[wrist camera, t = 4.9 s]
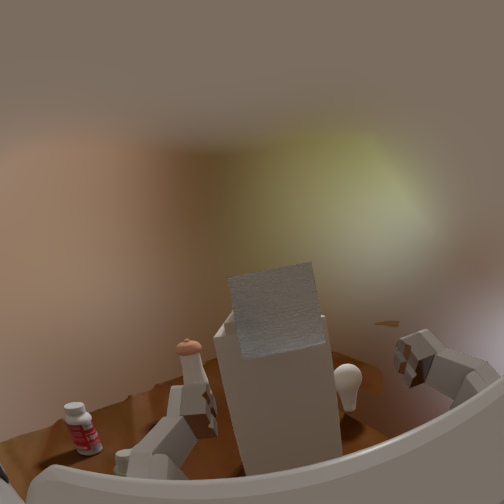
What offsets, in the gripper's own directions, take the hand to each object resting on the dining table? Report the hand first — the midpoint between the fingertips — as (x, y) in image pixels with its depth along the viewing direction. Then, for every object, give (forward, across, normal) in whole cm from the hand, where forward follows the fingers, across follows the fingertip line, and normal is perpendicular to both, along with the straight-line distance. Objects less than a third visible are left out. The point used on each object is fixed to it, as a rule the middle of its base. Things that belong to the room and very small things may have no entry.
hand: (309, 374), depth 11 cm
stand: (+8, -1, -34) cm, 35 cm away
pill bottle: (+18, -41, -40) cm, 60 cm away
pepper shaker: (+42, -20, -54) cm, 71 cm away
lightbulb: (+23, +14, -43) cm, 51 cm away
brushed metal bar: (+14, -1, -8) cm, 16 cm away
